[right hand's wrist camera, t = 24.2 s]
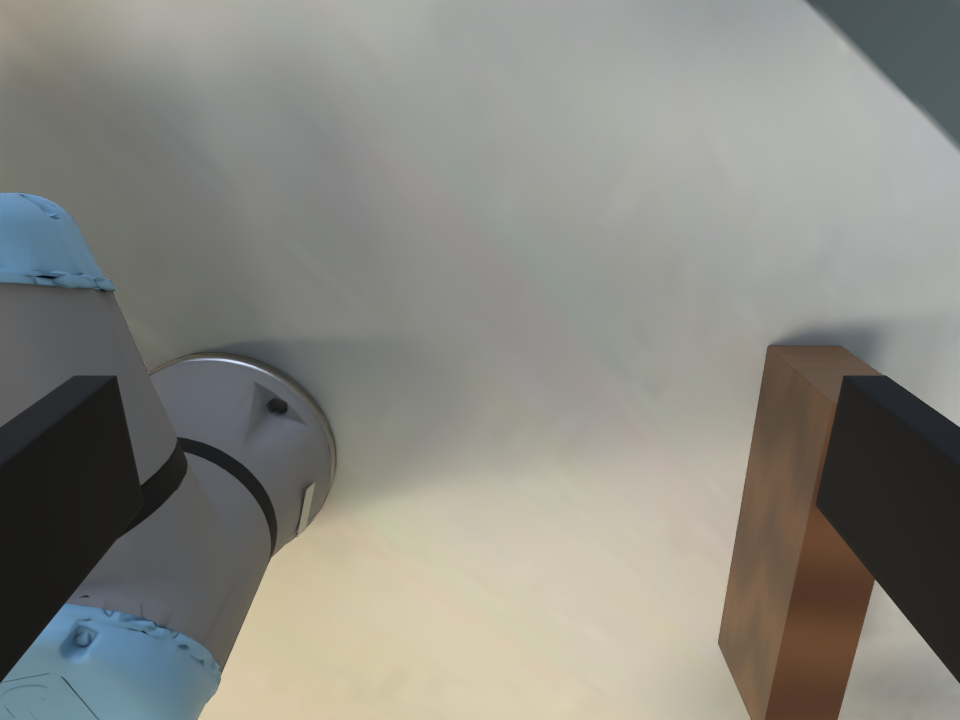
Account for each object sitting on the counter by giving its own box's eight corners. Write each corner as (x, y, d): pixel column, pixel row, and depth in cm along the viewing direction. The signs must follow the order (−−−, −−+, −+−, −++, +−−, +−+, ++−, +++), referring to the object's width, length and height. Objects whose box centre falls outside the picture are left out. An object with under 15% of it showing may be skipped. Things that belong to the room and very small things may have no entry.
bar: (778, 643, 55) (832, 741, 47) (717, 643, 55) (760, 741, 47) (841, 345, 46) (922, 402, 37) (767, 345, 46) (832, 402, 37)
